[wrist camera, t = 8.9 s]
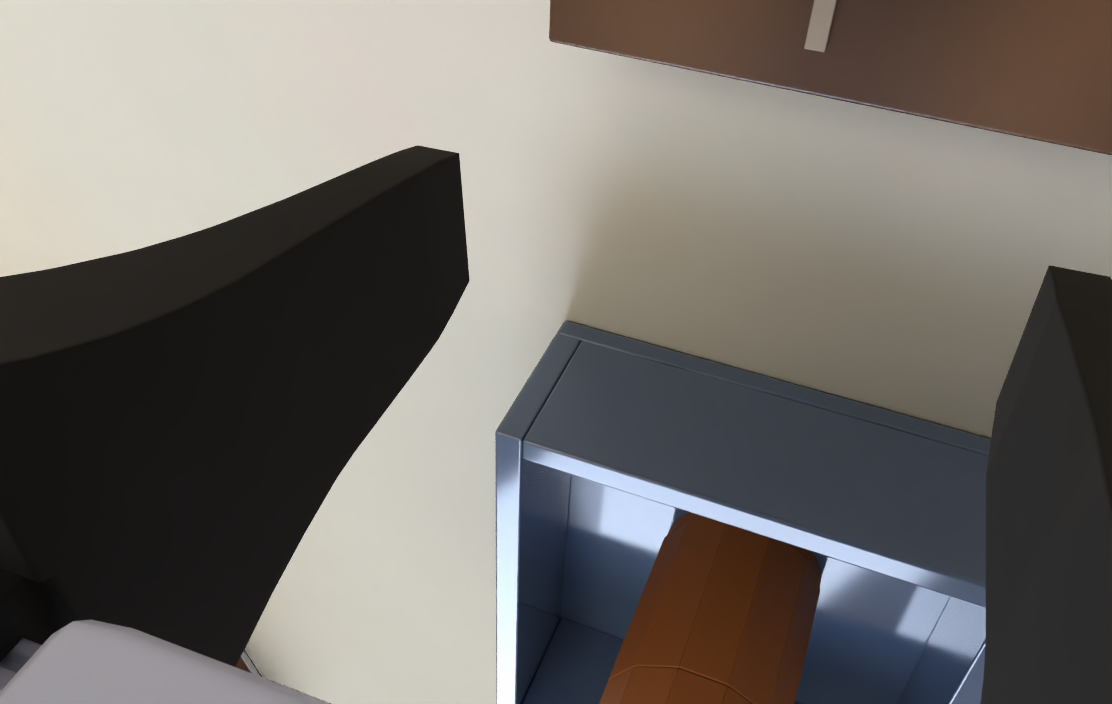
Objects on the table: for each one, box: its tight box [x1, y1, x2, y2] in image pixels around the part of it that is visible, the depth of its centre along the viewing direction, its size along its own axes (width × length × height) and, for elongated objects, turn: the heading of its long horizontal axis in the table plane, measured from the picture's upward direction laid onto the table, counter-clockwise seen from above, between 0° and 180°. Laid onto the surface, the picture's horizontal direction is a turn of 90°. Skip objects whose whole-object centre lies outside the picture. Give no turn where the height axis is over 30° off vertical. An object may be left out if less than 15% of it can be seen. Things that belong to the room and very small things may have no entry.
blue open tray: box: [496, 321, 991, 704], centre depth 28 cm, size 12×13×5 cm
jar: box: [599, 512, 821, 704], centre depth 27 cm, size 5×5×7 cm
